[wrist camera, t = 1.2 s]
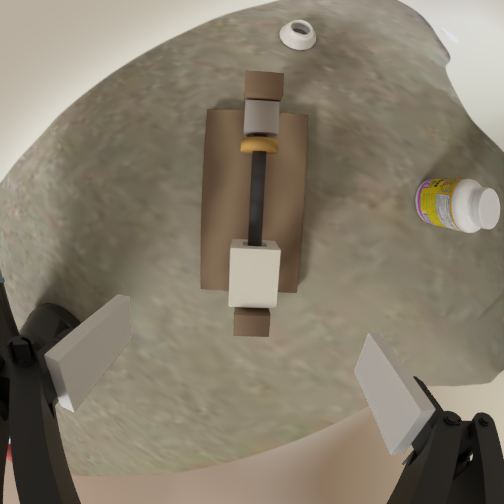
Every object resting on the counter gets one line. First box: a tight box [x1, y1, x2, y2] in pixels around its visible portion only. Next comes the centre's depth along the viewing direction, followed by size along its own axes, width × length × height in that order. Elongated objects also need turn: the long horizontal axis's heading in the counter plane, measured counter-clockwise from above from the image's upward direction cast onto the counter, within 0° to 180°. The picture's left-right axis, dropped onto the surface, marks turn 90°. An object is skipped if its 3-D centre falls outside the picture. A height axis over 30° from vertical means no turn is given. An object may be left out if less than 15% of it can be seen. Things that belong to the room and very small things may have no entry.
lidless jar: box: [279, 20, 316, 50], centre depth 27 cm, size 5×3×5 cm
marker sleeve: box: [229, 239, 281, 308], centre depth 24 cm, size 4×5×4 cm
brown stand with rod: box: [201, 71, 308, 337], centre depth 27 cm, size 12×22×13 cm, turn 177°
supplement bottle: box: [415, 179, 500, 233], centre depth 27 cm, size 7×7×13 cm
